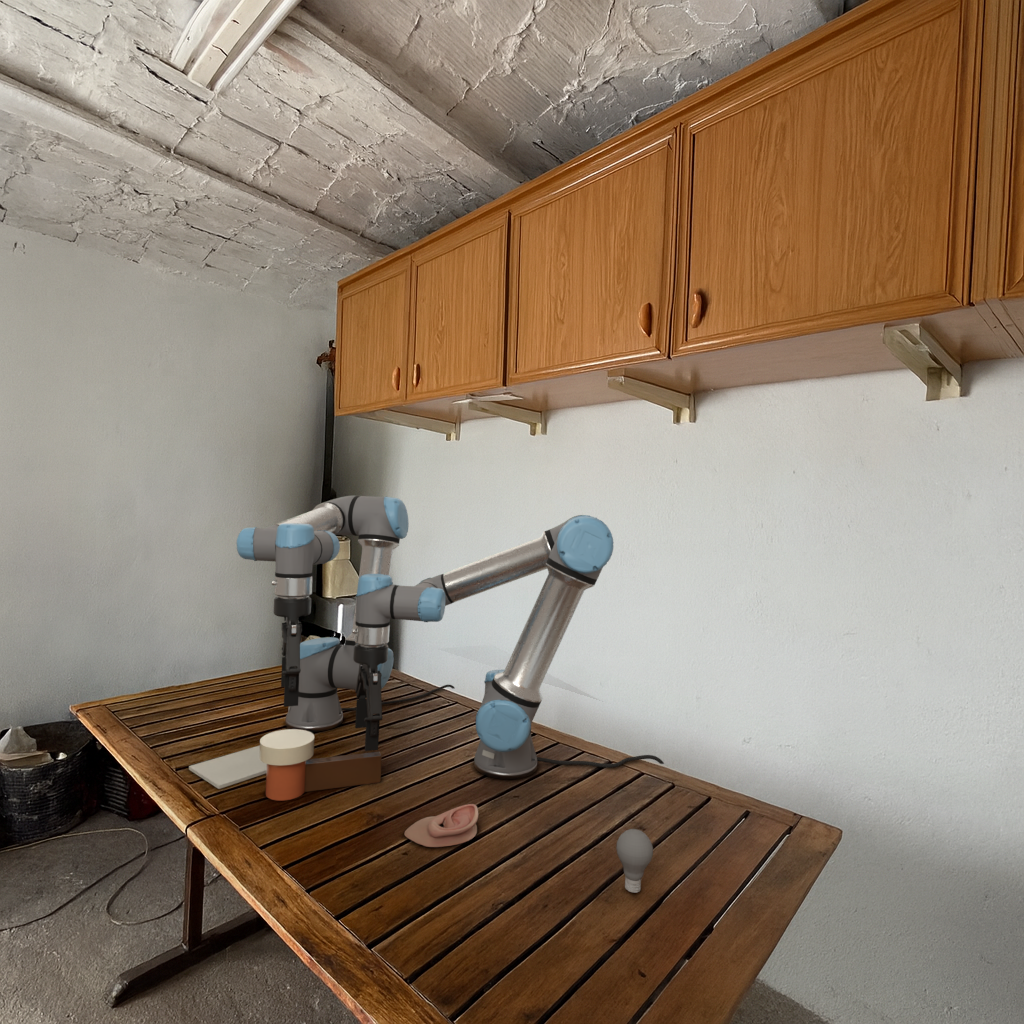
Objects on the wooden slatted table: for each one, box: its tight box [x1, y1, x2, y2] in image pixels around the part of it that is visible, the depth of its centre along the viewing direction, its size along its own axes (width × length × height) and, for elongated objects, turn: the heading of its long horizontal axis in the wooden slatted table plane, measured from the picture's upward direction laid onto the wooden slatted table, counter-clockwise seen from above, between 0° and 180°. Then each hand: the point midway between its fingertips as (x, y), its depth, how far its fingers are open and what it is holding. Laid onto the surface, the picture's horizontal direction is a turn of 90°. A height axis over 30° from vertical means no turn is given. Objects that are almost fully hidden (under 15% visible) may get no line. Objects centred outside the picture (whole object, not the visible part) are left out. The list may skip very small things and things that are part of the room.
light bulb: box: [615, 828, 654, 894], centre depth 106 cm, size 6×6×10 cm
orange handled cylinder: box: [265, 751, 382, 802], centre depth 138 cm, size 24×8×8 cm, turn 112°
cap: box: [259, 728, 315, 766], centre depth 135 cm, size 11×11×4 cm
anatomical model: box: [404, 803, 479, 848], centre depth 121 cm, size 13×4×12 cm
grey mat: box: [188, 744, 267, 790], centre depth 147 cm, size 20×14×1 cm
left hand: (289, 695), depth 135 cm, fingers open, 13 cm apart
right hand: (366, 738), depth 142 cm, fingers open, 13 cm apart
